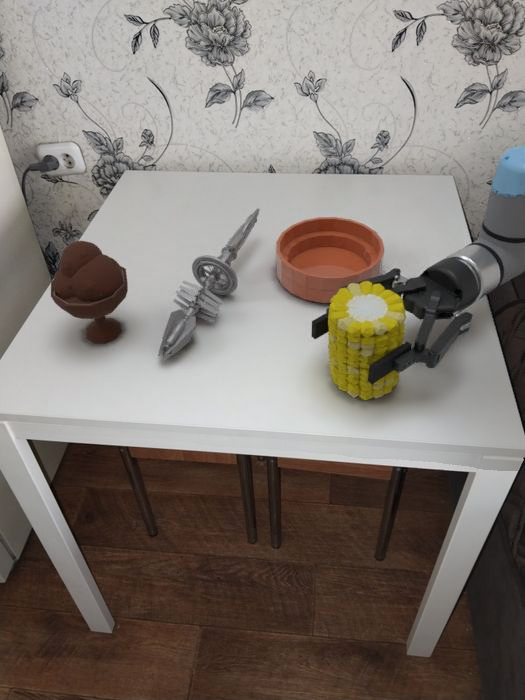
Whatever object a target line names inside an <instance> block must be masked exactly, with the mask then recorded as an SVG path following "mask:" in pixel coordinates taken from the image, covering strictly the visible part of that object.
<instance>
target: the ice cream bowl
mask: <svg viewBox="0 0 525 700" xmlns="http://www.w3.org/2000/svg"><path fill="white" fill-rule="evenodd" d="M59 265H60V268H58V270H57V271H55V273H54V276H53V279H52V280H51V281H50V297H51V300H53V302H54V303H55V305H56V306H58V307H59V308H60V309H61V310H63V311H64V312H66V313H67V314H69V315H70V316H72V317H74V318H77V319H82V320H93V321H92V322H91V323H89V325H87V327H86V329H85V335H86V336H85V337H86V340H88V341H89V342H91V343H92V344H107V343H110V342H112V341H114V340H116V339H117V338H118V337H119V336H120V334H122V332H123V331H122V324H121V322H119V321H117V320H116V319H115V318H113V317H107V316H108V315H111V314H112V313H113V312H114V311H115V310H116V309H117V308H119V306H120V304H121V303H122V302H123V301H124V300H125V299H126V298H127V295H128V290H129V289H128V288H129V285H128V282H129V281H128V276H127V268H125V267H124V266H121V265H120V264H119V262H118V261H117V260H115V258H113V257H111V256H108V255H107V254H103V251H102V249H101V248H100V247H98V245H96V244H95V243H94V242H90V241H86V240H77V241H74V242H71V243H70V244H68V245H67V246H66V247H65V248H64V249H63V251H62V253H61V257H60V260H59Z"/></svg>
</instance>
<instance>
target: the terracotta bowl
mask: <svg viewBox="0 0 525 700" xmlns="http://www.w3.org/2000/svg"><path fill="white" fill-rule="evenodd" d="M275 245H276V246H275V247H276V277H277V278H278V281H279V282H280V284H281V286H282V287H283V288H285V289H286V291H288V292H289V293H290V294H291V295H294V296H296V297H299V298H301V299H304V300H305V301H310V302H316V303H322V304H331V298H332V297H333V296H334V295H336V294H337V293H338V291H339V289H340V287H342V286H346V285H349V284H351V283H356V282H359V281H363V280H366V279H370V278H373V277H377V276H380V275H382V273H383V271H382V270H383V263H384V257H385V246H384V241H383V239H382V238H381V236H380V235H379V234H378V233H377V232H376V231H375V230H374V229H373V228H371V227H369V226H368V225H367V224H365V223H362V222H359V221H356V220H353V219H349V218H343V217H338V216H323V217H322V216H321V217H314V218H309V219H303V220H301V221H298V222H296V223H294V224H291V225H290V226H289V227H287V228H286V229H285V230H284V231H282V232H281V234H280V235H279V237H278V238H277V240H276V243H275Z"/></svg>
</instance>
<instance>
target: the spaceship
mask: <svg viewBox="0 0 525 700" xmlns="http://www.w3.org/2000/svg"><path fill="white" fill-rule="evenodd" d="M260 210H261V209H260V208H256V209H255V210H254V211H253V212H252V213H251V214H250V215H248V216H247V217H246V219H245V221H244V223H242V224H241V225H240V226H239V227H238V228H237V230H235V232H234V233H233V235H232V236H231V237H230V238H228V241H227V243H226V244H225V246H224V247H222V249H221V251H220V252H221V253H220V255H218V256H213V255H209V254H207V255H206V254H204V255H201V256H200V255H199V256H198V257H196V258H194V260H193V262H192V264H191V271H192V272H191V273H192V274H193V277H194V279H195V280H196V282H197V283H198V284H199V285H198V284H195V283H193V282H190V281H187V280H183V281H181V282H182V284H184V285H186V286H188V287H186V286H184V285H179V286H178V289H180V290H177V289H176V291H174V294H177V295H176V297H177V298H178V299H177V298H174V299H173V300H172V301H173V303H175V304H176V305H177V306H179V307H180V308H181V309H180V308H179V309H178V310H174V311H171V312H170V315H169V317H168V320H167V323H166V326H165V329H164V332H163V334H162V337H161V339H162V340H161V343H160V346H159V350H158V353H157V356H158V357H161V356H163V359H164V360H168V359H169V358H170V357H172V356H174V355H176V354H177V353H179V351H180V350H181V349H183V348H184V347H185V346H186V345H188V344H189V343H190V342H191V341H192V334H193V329H195V327H197V318H200V319H202V320H206V321H208V322H211V323H212V322H213V321H214V318H216V316H218V314H217V312H220V307H221V306H220V305H219V304H221V305H222V304H223V302H224V301H223V299H221V298H220V297H218V296H217V295H220V296H226V295H230V294H232V293H234V292H235V291H236V290H237V288H238V285H239V281H238V275H237V274H236V272H235V270H234V269H233V267H232V262H233V261H235V260H237V258H238V253H239V251H240V250H241V248H242V247H243V245H244V243H245V242H246V241H247V239H248V238H249V235H250V234H251V232H252V230H253V228H254V227H255V225H256V223H257V222H258V217H259V214H260ZM205 267H207V268H208V270H207V269H206V268H205ZM207 274H208V275H207ZM224 278H225V279H224ZM189 287H191V288H189ZM194 289H195V290H194ZM209 297H210V298H211V299H210V298H209ZM212 299H213V300H215V301H216V302H218V303H219V304H218V303H216V302H214V301H213V300H212ZM179 300H180V301H179ZM181 301H182V302H181ZM183 302H184V303H185V304H184V303H183ZM186 304H187V305H188V306H187V305H186ZM185 311H186V312H185ZM203 313H204V314H203ZM205 314H206V315H205ZM207 315H208V316H207ZM210 316H211V317H210ZM212 317H214V318H212Z"/></svg>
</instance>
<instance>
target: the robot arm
mask: <svg viewBox="0 0 525 700" xmlns="http://www.w3.org/2000/svg"><path fill="white" fill-rule="evenodd" d="M481 223H482V224H481V226H480V230H479V235H478V237H477V239H475V240H474V241H472V242H471V243H469V244H467V245H466V246H464V247H462V248H460V249H458V250H457V251H455V252H453V253H451V254H449V255H447V256H446V257H445V258H442V259H441V260H439V261H438V262H436V263H433V264H432V265H430V266H429V267H427V268H426V269H425V270H423V272H422V273H420V274H419V275H418V276H416V277H410V278H407V277H405V276H403V275H402V274H401V269H400V268H397V267H394V268H392V269H391V270H389V271H387V272H386V273H383V274H381V275H380V276H377V277H373V278H370V279H366V280H363V281H359V282H356V284H360V283H362V282H364V281H369V282H371V283H372V285H373V284H381V285H382V286H383V287H384V288H385V290H390V291H392V292H394V293H395V294H397V295H399V296H400V297H401V299H402V300H403V305H404V308H405V312H408V313H410V314H413V316H414V317H415V318H417V319H418V320H419V321H421V320H422V321H421V324H420V327H419V330H418V333H417V336H416V338H415V340H414V344H412V343H411V342H409V341H406V342H403V345H401V346H400V347H398V348H396V349H395V350H393V351H392V352H390V353H389V354H387V355H385V356H384V357H382V358H381V359H379V360H377V361H376V362H374V363H373V364H371V365H370V366H369V374H368V382H369V383H371V384H374V383H375V382H377V381H378V380H380V379H381V378H383V377H384V376H386V375H387V374H389V373H390V372H392V371H394V370H395V371H396V372H399V373H402V372H404V371H405V370H407V369H408V368H410V367H411V366H413V365H415V364H419V363H422V364H425V367H427V369H430V370H431V369H435V368H436V367H437V365H439V363H440V362H441V360H442V359H443V358H444V356H445V355H446V354H447V352H448V351H449V350H450V348H451V347H452V346H453V344H455V342H456V340H457V339H458V338H459V337H461V336H462V335H464V334H466V333H467V332H469V331H470V328H471V324H472V321H473V316H474V314H473V313H472V312H470V311H465V312H462V311H464V310H465V309H467V308H469V307H470V306H472V305H473V304H474V303H476V302H478V301H479V300H481V299H482V298H484V297H486V296H487V295H489V294H490V293H492V292H494V291H495V290H497V289H498V288H499V287H501V286H502V285H504V284H506V283H508V282H509V281H511V280H513V279H514V278H516V277H518V276H520V275H522V274H524V273H525V145H519V146H518V145H517V146H514V147H511V148H510V149H507V150H506V151H505V152H504V153H503V154H502V155H501V157H500V159H499V161H498V164H497V166H496V169H495V172H494V175H493V179H492V181H491V182H490V190H489V194H488V200H487V204H486V207H485V212H484V216H483V220H482V222H481ZM347 287H348V285H346V286H342V287H340V289H341V288H347ZM328 315H329V307H327V309H326V311H325V313H324V314H322V315H320V316H318V317H317V318H315V319H312V320H311V338H313V339H314V340H317V339H319V338H320V337H322V336H324V335H326V334H328V333H329V326H328V320H329V319H328ZM437 320H438V321H439V320H441V321H443V320H450V322H449V324H448V325H447V326H446V327H445V329H443V331H442V333H441V334H440V335H439V337H438V338H437V339H436V340H435V342H433V344H432V346H430V348H427V345H428V341H429V338H430V336H431V333H432V331H433V328H434V324H435V322H436V321H437Z"/></svg>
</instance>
